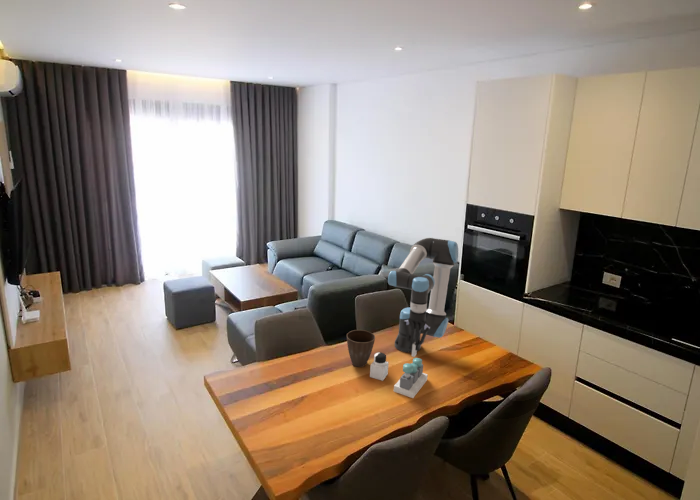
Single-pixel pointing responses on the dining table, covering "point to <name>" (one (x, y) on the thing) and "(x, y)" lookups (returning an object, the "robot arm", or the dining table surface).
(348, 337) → the plant pot
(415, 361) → the knob
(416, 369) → the knob
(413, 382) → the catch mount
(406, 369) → the knob
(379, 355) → the medicine bottle
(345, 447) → the dining table surface
